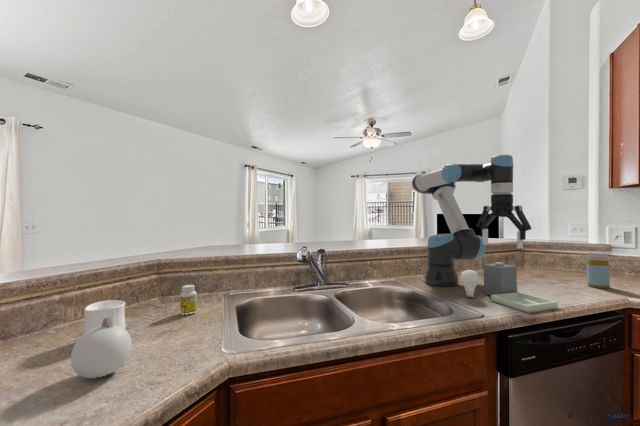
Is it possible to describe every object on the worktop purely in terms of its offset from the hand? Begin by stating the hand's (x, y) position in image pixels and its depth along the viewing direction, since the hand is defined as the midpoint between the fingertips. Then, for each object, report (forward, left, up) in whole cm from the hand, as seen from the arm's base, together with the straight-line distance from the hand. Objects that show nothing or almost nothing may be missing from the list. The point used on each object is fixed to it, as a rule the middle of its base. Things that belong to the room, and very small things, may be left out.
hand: (501, 246), depth 115 cm
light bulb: (-1, -15, -20) cm, 25 cm away
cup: (-2, -139, -20) cm, 141 cm away
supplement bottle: (-18, -120, -20) cm, 123 cm away
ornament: (+19, -131, -20) cm, 134 cm away
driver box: (0, -1, -20) cm, 20 cm away
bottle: (+4, +49, -20) cm, 53 cm away
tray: (+12, -4, -20) cm, 23 cm away
